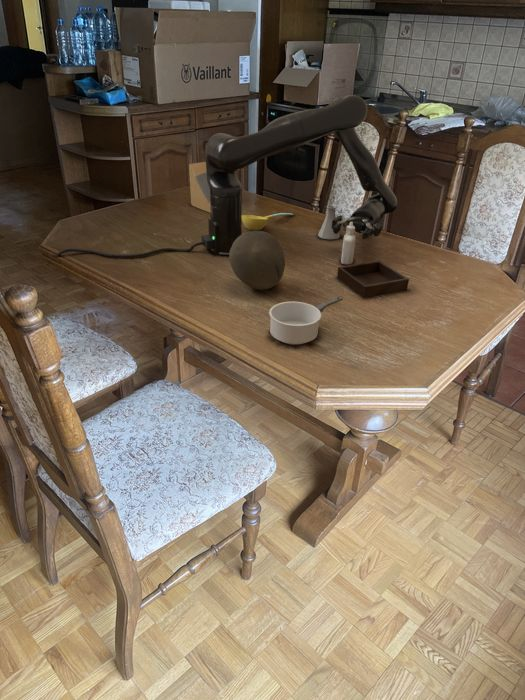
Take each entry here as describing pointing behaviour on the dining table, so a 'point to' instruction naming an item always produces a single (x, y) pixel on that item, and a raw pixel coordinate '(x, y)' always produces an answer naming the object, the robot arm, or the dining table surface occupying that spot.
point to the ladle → (257, 221)
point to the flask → (329, 224)
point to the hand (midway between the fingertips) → (349, 233)
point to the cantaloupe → (257, 259)
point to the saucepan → (297, 321)
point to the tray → (372, 279)
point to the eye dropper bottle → (348, 245)
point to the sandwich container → (199, 186)
